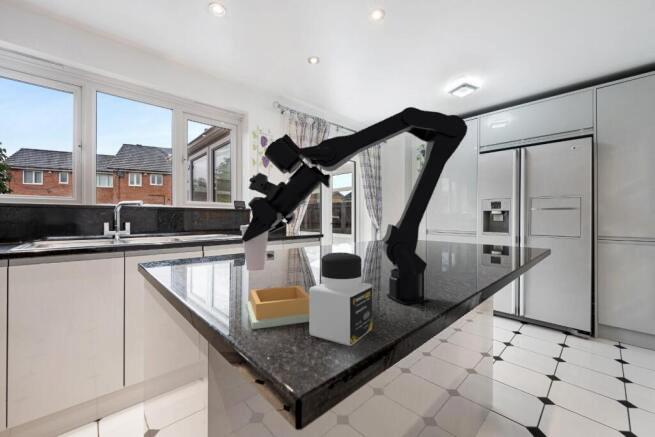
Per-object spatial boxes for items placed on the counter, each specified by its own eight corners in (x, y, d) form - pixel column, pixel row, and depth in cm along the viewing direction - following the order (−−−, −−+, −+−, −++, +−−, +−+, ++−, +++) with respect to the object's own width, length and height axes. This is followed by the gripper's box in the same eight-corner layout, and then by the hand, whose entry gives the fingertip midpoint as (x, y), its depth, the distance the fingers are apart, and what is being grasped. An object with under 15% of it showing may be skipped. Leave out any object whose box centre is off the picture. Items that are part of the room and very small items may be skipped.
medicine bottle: (351, 347, 38) (350, 258, 38) (308, 335, 42) (308, 254, 42) (372, 329, 44) (372, 252, 44) (333, 320, 48) (333, 249, 48)
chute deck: (340, 296, 63) (340, 280, 63) (366, 313, 51) (366, 294, 51) (246, 306, 56) (246, 288, 56) (252, 329, 44) (252, 306, 44)
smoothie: (262, 272, 59) (262, 204, 59) (234, 271, 60) (234, 205, 60) (274, 266, 65) (274, 206, 65) (249, 266, 67) (248, 206, 67)
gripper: (281, 170, 72) (239, 214, 73) (258, 153, 53) (202, 213, 54) (313, 200, 71) (270, 244, 72) (300, 194, 53) (243, 254, 54)
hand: (249, 239), depth 63 cm, fingers closed on smoothie, 6 cm apart
